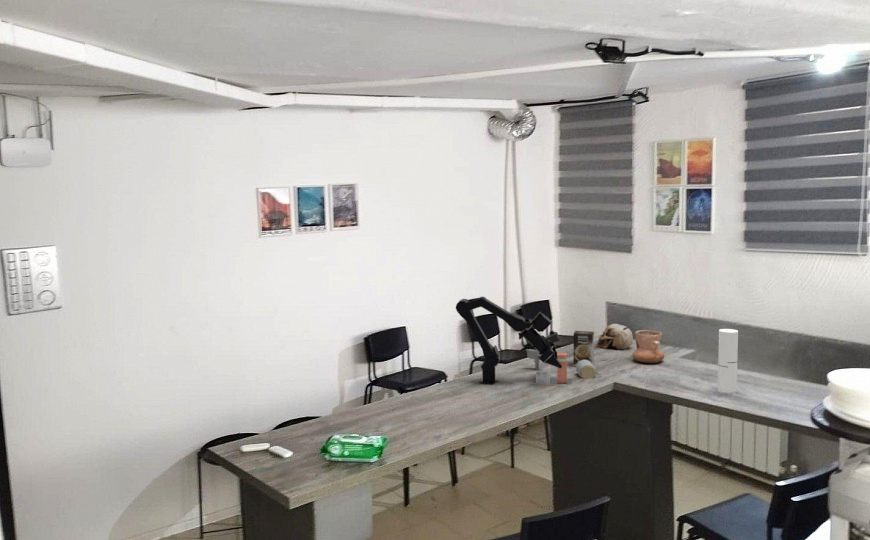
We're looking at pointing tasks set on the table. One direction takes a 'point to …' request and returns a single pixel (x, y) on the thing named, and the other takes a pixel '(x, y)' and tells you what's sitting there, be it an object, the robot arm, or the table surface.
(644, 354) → the ceramic jug
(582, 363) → the ceramic mug
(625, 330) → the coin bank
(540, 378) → the stand base
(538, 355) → the mechanical component
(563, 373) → the salmon pink rectangular block
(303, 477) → the table surface
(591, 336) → the coffee box
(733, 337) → the cylindrical container
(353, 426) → the table surface
